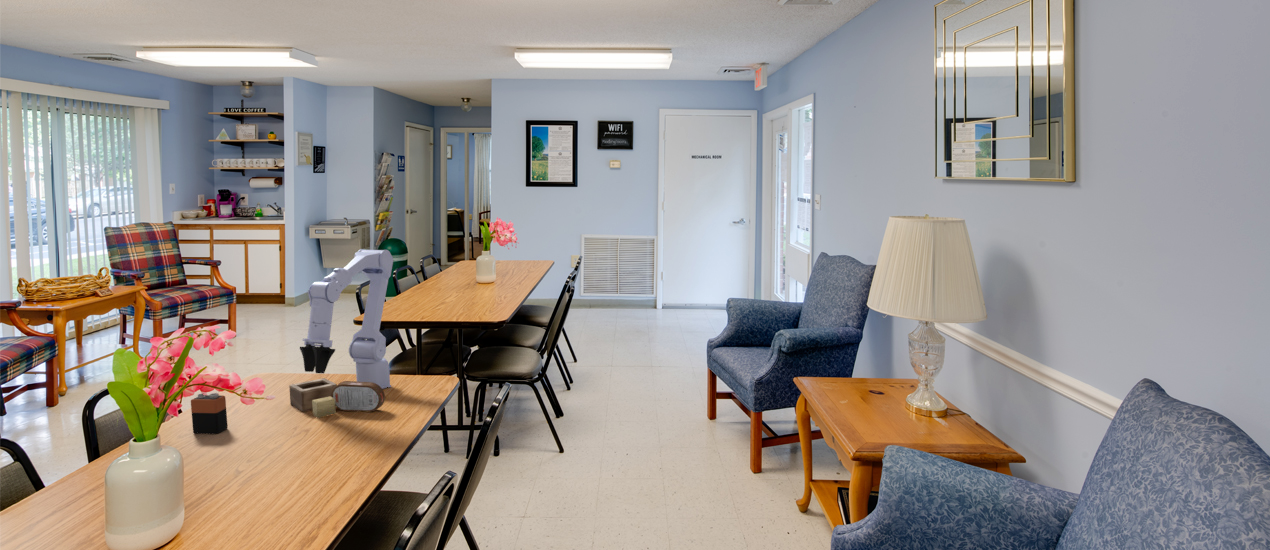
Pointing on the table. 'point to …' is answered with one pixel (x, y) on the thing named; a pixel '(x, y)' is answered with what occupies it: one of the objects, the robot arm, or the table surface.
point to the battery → (209, 413)
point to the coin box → (309, 393)
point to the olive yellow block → (323, 406)
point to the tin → (358, 396)
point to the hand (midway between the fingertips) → (314, 372)
